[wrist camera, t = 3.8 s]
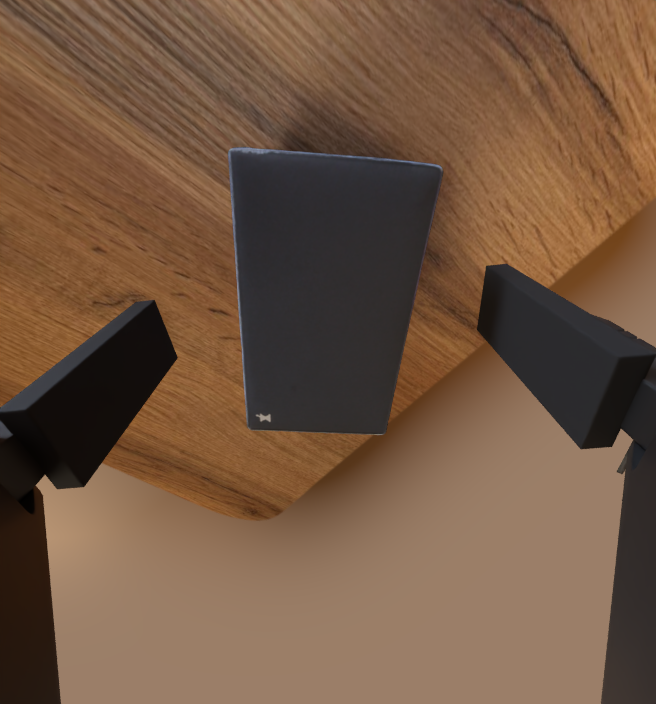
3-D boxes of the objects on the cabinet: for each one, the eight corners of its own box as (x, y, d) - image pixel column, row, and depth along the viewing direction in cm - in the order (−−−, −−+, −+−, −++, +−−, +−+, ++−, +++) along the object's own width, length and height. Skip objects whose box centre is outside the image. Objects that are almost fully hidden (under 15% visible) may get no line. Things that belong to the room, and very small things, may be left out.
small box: (367, 331, 23) (391, 443, 14) (275, 325, 23) (240, 435, 14) (393, 158, 18) (459, 164, 9) (272, 148, 18) (213, 143, 9)
